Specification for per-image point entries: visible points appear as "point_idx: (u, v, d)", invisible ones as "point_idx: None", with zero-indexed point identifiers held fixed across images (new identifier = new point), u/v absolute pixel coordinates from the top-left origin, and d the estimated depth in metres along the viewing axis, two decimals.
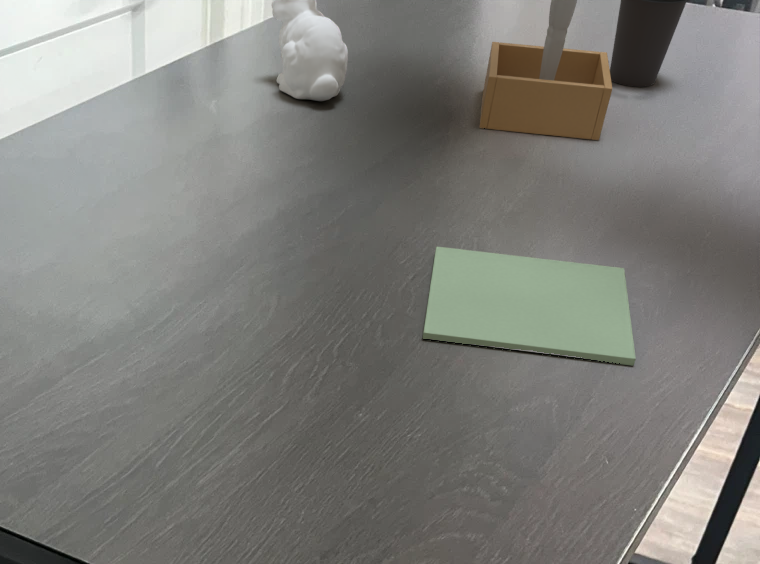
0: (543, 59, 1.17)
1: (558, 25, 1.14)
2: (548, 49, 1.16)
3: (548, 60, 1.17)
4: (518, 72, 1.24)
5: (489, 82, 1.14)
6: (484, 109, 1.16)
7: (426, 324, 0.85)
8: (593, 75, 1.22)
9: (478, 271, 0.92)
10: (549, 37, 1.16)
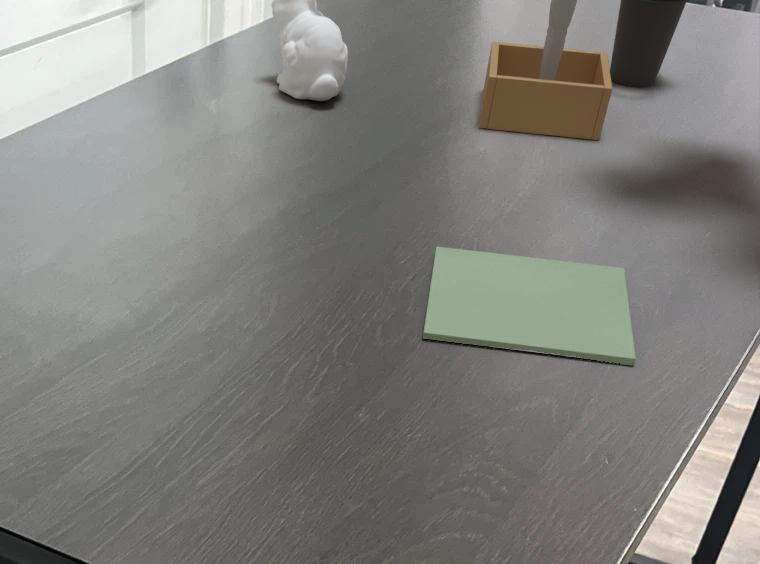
0: (543, 59, 1.17)
1: (558, 25, 1.14)
2: (548, 49, 1.16)
3: (548, 60, 1.17)
4: (518, 72, 1.24)
5: (489, 82, 1.14)
6: (484, 109, 1.16)
7: (426, 324, 0.85)
8: (593, 75, 1.22)
9: (478, 271, 0.92)
10: (549, 37, 1.16)
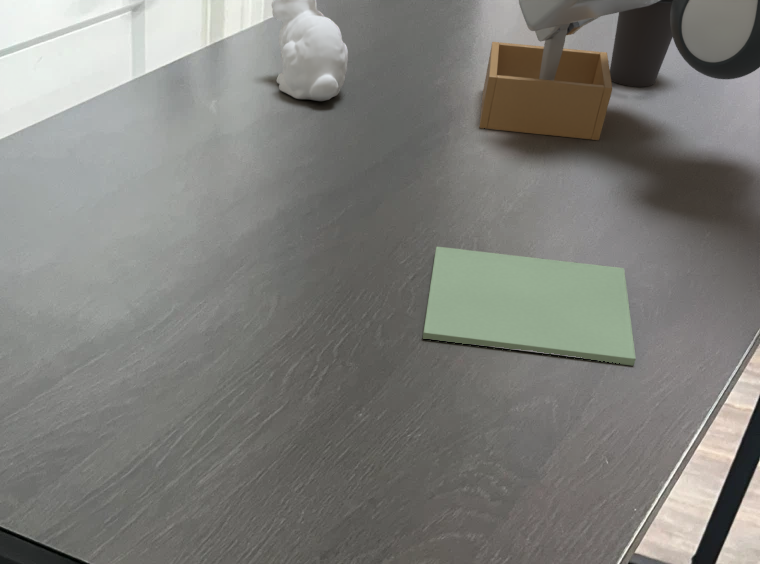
0: (543, 59, 1.17)
1: None
2: (548, 49, 1.16)
3: (548, 60, 1.17)
4: (518, 72, 1.24)
5: (489, 82, 1.14)
6: (484, 109, 1.16)
7: (426, 324, 0.85)
8: (593, 75, 1.22)
9: (478, 271, 0.92)
10: None
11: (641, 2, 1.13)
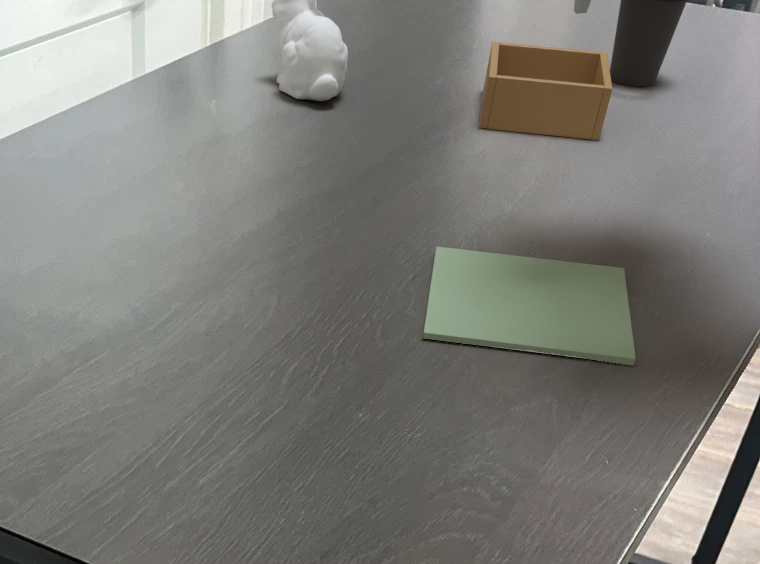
0: None
1: None
2: None
3: None
4: (518, 72, 1.24)
5: (489, 82, 1.14)
6: (484, 109, 1.16)
7: (426, 324, 0.85)
8: (593, 75, 1.22)
9: (478, 271, 0.92)
10: None
11: None
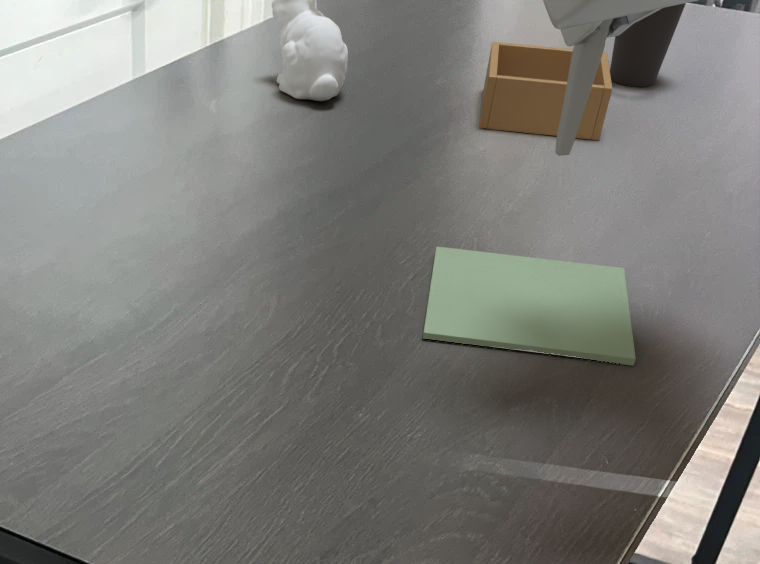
0: (571, 72, 0.77)
1: None
2: (578, 57, 0.76)
3: (578, 74, 0.77)
4: (518, 72, 1.24)
5: (489, 82, 1.14)
6: (484, 109, 1.16)
7: (426, 324, 0.85)
8: None
9: (478, 271, 0.92)
10: None
11: None
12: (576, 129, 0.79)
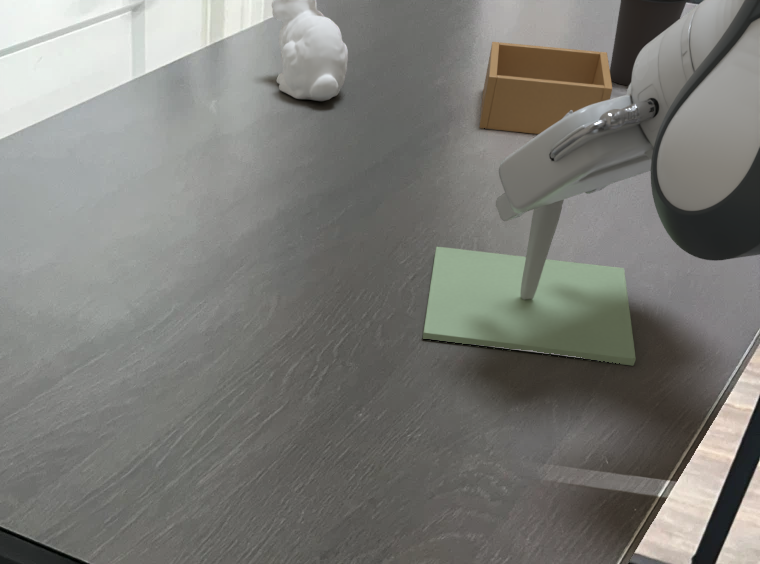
0: (532, 231, 0.85)
1: None
2: (538, 219, 0.84)
3: (538, 233, 0.85)
4: (518, 72, 1.24)
5: (489, 82, 1.14)
6: (484, 109, 1.16)
7: (426, 324, 0.85)
8: (593, 75, 1.22)
9: (478, 271, 0.92)
10: None
11: None
12: (538, 278, 0.87)
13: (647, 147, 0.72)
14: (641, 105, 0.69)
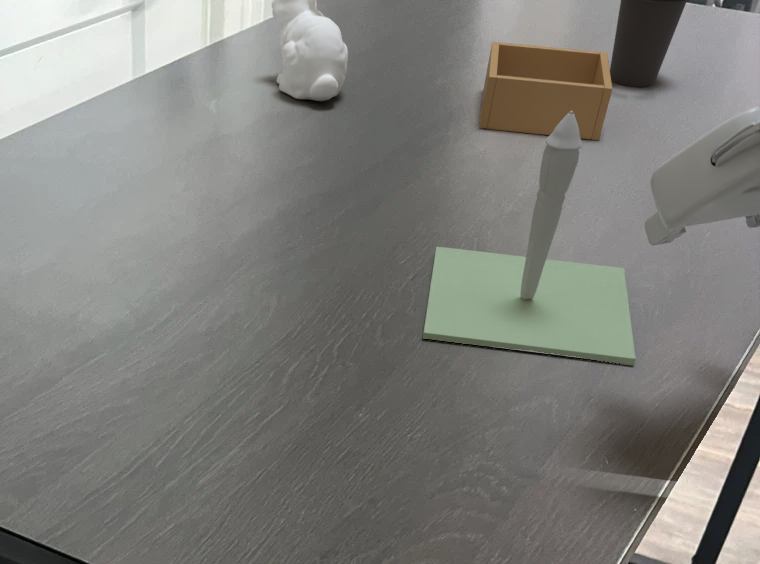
0: (532, 231, 0.85)
1: (552, 190, 0.82)
2: (538, 219, 0.84)
3: (538, 233, 0.85)
4: (518, 72, 1.24)
5: (489, 82, 1.14)
6: (484, 109, 1.16)
7: (426, 324, 0.85)
8: (593, 75, 1.22)
9: (478, 271, 0.92)
10: (540, 204, 0.83)
11: None
12: (538, 278, 0.87)
13: None
14: None
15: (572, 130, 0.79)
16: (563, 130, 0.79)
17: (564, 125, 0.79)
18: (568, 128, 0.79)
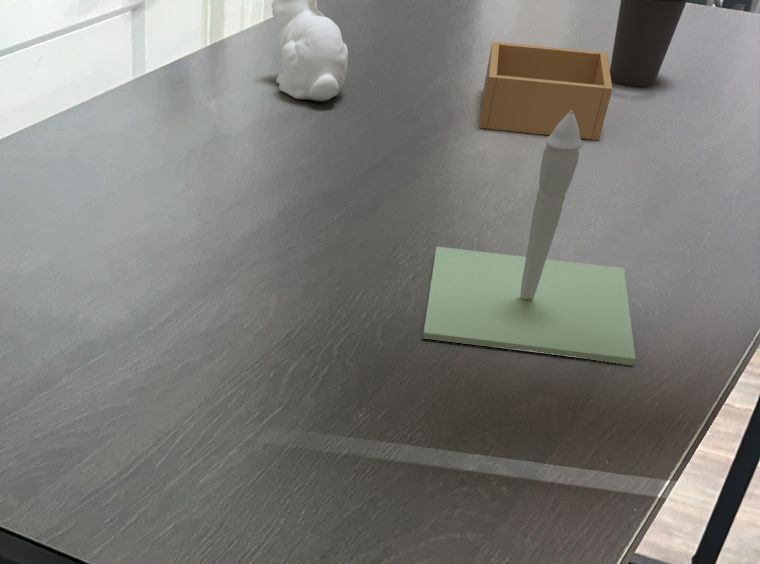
0: (532, 231, 0.85)
1: (552, 190, 0.82)
2: (538, 219, 0.84)
3: (538, 233, 0.85)
4: (518, 72, 1.24)
5: (489, 82, 1.14)
6: (484, 109, 1.16)
7: (426, 324, 0.85)
8: (593, 75, 1.22)
9: (478, 271, 0.92)
10: (540, 204, 0.83)
11: None
12: (538, 278, 0.87)
13: None
14: None
15: (572, 130, 0.79)
16: (563, 130, 0.79)
17: (564, 125, 0.79)
18: (568, 128, 0.79)
